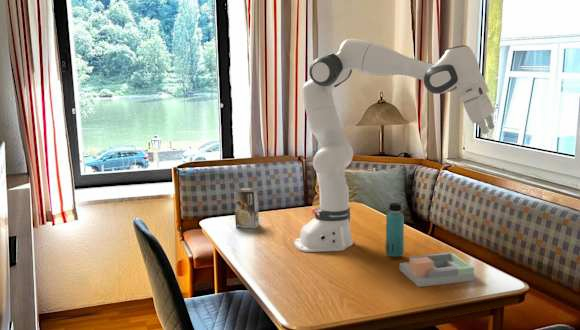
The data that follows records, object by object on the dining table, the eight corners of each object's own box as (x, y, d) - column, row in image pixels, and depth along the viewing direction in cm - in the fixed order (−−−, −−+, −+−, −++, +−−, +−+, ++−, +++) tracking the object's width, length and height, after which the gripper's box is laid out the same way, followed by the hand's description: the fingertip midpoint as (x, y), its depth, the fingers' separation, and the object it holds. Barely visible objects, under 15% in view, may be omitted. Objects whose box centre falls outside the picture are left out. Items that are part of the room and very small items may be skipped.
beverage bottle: (405, 255, 214) (406, 201, 210) (402, 261, 208) (403, 206, 204) (387, 253, 216) (387, 200, 212) (383, 259, 210) (384, 205, 206)
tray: (418, 286, 186) (418, 273, 185) (399, 269, 200) (399, 257, 199) (473, 280, 190) (474, 267, 189) (451, 264, 204) (451, 252, 203)
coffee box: (259, 224, 255) (258, 188, 252) (255, 228, 249) (254, 191, 246) (239, 223, 257) (238, 187, 254) (234, 227, 251) (233, 191, 248)
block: (416, 277, 187) (416, 263, 186) (409, 271, 192) (409, 258, 191) (433, 275, 188) (433, 261, 188) (426, 269, 193) (426, 256, 192)
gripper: (471, 92, 205) (486, 129, 205) (457, 98, 187) (473, 139, 188) (489, 85, 202) (504, 123, 202) (476, 91, 184) (492, 132, 184)
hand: (489, 130), depth 195 cm, fingers open, 8 cm apart
